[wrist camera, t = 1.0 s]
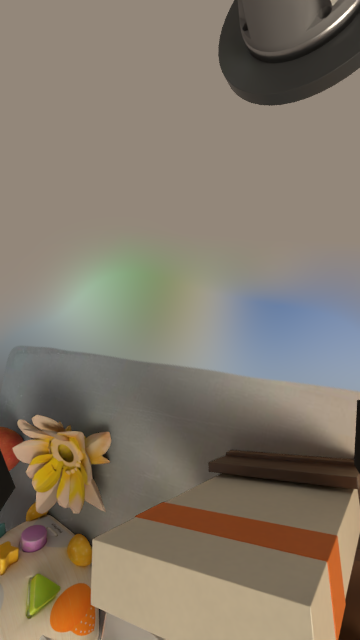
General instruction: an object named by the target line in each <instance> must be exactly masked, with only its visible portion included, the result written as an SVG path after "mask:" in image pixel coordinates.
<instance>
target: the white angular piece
mask: <svg viewBox="0 0 360 640" xmlns="http://www.w3.org/2000/svg"><path fill="white" fill-rule="evenodd" d="M39 640H53V639H51V638H48V637H46V636H44V635H42V636H41V638H40V639H39ZM101 640H166V639H164V638H161V637H159V636H157V635H155V634H153V633H151V632H149V631H146V630H144V629H142V628H140V627H138V626H136V625H133V624H131V623H129V622H127V621H125V620H123V619H120V618H118V617H116V616H114V615H112V614H110V613H107V612H106V614H105V620H104V625H103V631H102V637H101Z"/></svg>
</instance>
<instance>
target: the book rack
mask: <svg viewBox="0 0 360 640" xmlns="http://www.w3.org/2000/svg"><path fill="white" fill-rule="evenodd" d="M209 472H216V473H225V474H233V475H241V476H250V477H258V478H266V479H275V480H283V481H292V482H300V483H308V484H317V485H325V486H333V487H342V488H350V489H358V496H359V503H360V474H359V472H358V470H357V469H356V467H355V465H354V459H341V458H328V457H315V456H302V455H289V454H276V453H263V452H250V451H237V450H230V451H227V452H226V455H225V456H223V457H220V458H218V459H216V460H213V461H211V462H209ZM345 603H346V605H345V610H344V615H343V619H342V624H341V629H340V633H339V638H338V640H360V534H359V539H358V544H357V548H356V553H355V557H354V562H353V566H352V571H351V575H350V580H349V585H348V589H347V594H346V598H345Z"/></svg>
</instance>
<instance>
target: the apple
mask: <svg viewBox="0 0 360 640" xmlns="http://www.w3.org/2000/svg"><path fill="white" fill-rule="evenodd" d="M22 442H23V438H22V437H21V436H20V435H19V434H18V433H16V432H15V431H13V430H11V429H8V428H5V427H0V449H1V452H2V455H3V457H4V460H5V462H6V465H7V467H8V470H9V471H10V470H11V469H12V468H14V467H15V466H16V465H17V463H18V462H19V461H20V460H19V459H17V457H16V455H15V453H14V452H13V449H12V448H13V447H15V446H17V445H18V444H20V443H22Z"/></svg>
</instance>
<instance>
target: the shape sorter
mask: <svg viewBox="0 0 360 640" xmlns="http://www.w3.org/2000/svg"><path fill="white" fill-rule="evenodd" d="M47 513H48V511H47V512H45V513H43V514H41V513H38V512H37V511H36V502H35V503H34V504H33V505H32V506H31V507H30V508H29V510H28V512H27V515H26V522H24V523H22V524H20V525H18V526H16V527H15V528H13V529H11V530H9V531H7V532H5V523H2V524H0V640H39V639H40V638H41V636H42V635H44V636H46V637H48V638H51V639H53V640H98V636H99V608H97V607H95V606H92V605H91V572H92V566H91V563H92V549H91V546H90V544H89V542H88V540H87V539H86V538H85V537H84V536H83V535H82V534H76V535H75V534H74V533H72V532H71V531H70V530H69V529H67V528H66V527H65V526H64V525H62V524H61V523H60V522H59V521H57V520H56V519H55V518H53V517H52V516H50V515H47Z"/></svg>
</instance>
